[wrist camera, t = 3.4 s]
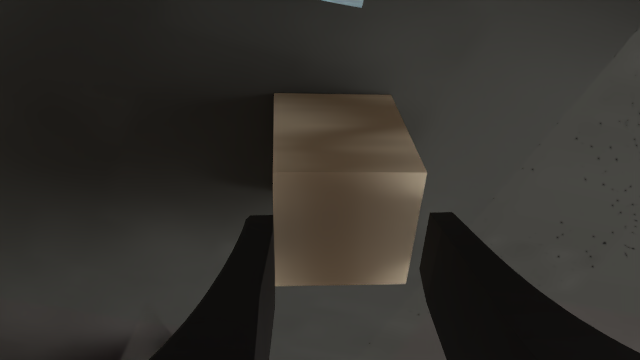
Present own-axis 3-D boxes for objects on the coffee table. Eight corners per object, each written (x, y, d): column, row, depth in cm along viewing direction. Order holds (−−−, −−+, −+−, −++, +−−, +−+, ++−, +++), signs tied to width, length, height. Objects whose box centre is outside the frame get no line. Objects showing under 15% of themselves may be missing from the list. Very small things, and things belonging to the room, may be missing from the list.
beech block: (390, 94, 17) (427, 172, 13) (378, 191, 19) (405, 284, 15) (273, 93, 17) (273, 172, 13) (274, 191, 19) (273, 286, 15)
